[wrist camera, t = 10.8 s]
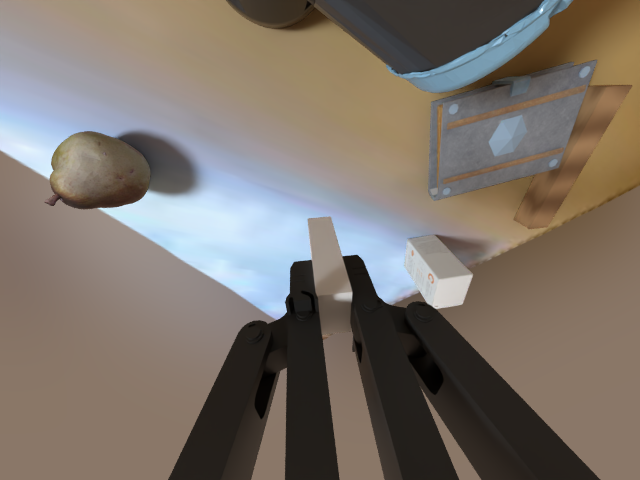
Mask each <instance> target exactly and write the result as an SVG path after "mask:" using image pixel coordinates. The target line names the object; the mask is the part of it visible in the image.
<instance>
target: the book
mask: <svg viewBox="0 0 640 480" xmlns="http://www.w3.org/2000/svg"><path fill="white" fill-rule="evenodd" d="M596 63H597V60H593V61H589V62H586V63H582V64H579V65H575V66H573V64H574V62H569V63H566V64H562V65H559V66H555V67H552V68H548V69H545V70H541V71H538V72H534V73H531V74H527V75H524V76H516V77H506V78H502V79H499V80H495V81H493V83H492V85H489V86H485V87H482V88H478V89H475V90H471V91H468V92H464V93H461V94H457V95H454V96H450V97H447V98H443V99H440V100H436V101H432V102H431V124H430V154H429V184H428V192H429V194H430V196H431V198H432V199H433V200H434V201H435V200H439V199H443V198H447V197H451V196H455V195H458V194H462V193H466V192H470V191H474V190H477V189H481V188H485V187H489V186H493V185H496V184H500V183H504V182H508V181H512V180H515V179H519V178H523V177H527V176H531V175H534V174H538V173H542V172H546V171H550V170H553V169H556V168H559V165H560V162H561V159H562V157H563V154H564V151H565V148H566V146H567V143H568V140H569V137H570V135H571V132H572V129H573V126H574V124H575V121H576V118H577V115H578V112H579V110H580V107H581V104H582V101H583V99H584V96H585V93H586V90H587V88H588V85H589V82H590V79H591V77H592V74H593V71H594V68H595V66H596Z"/></svg>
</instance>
